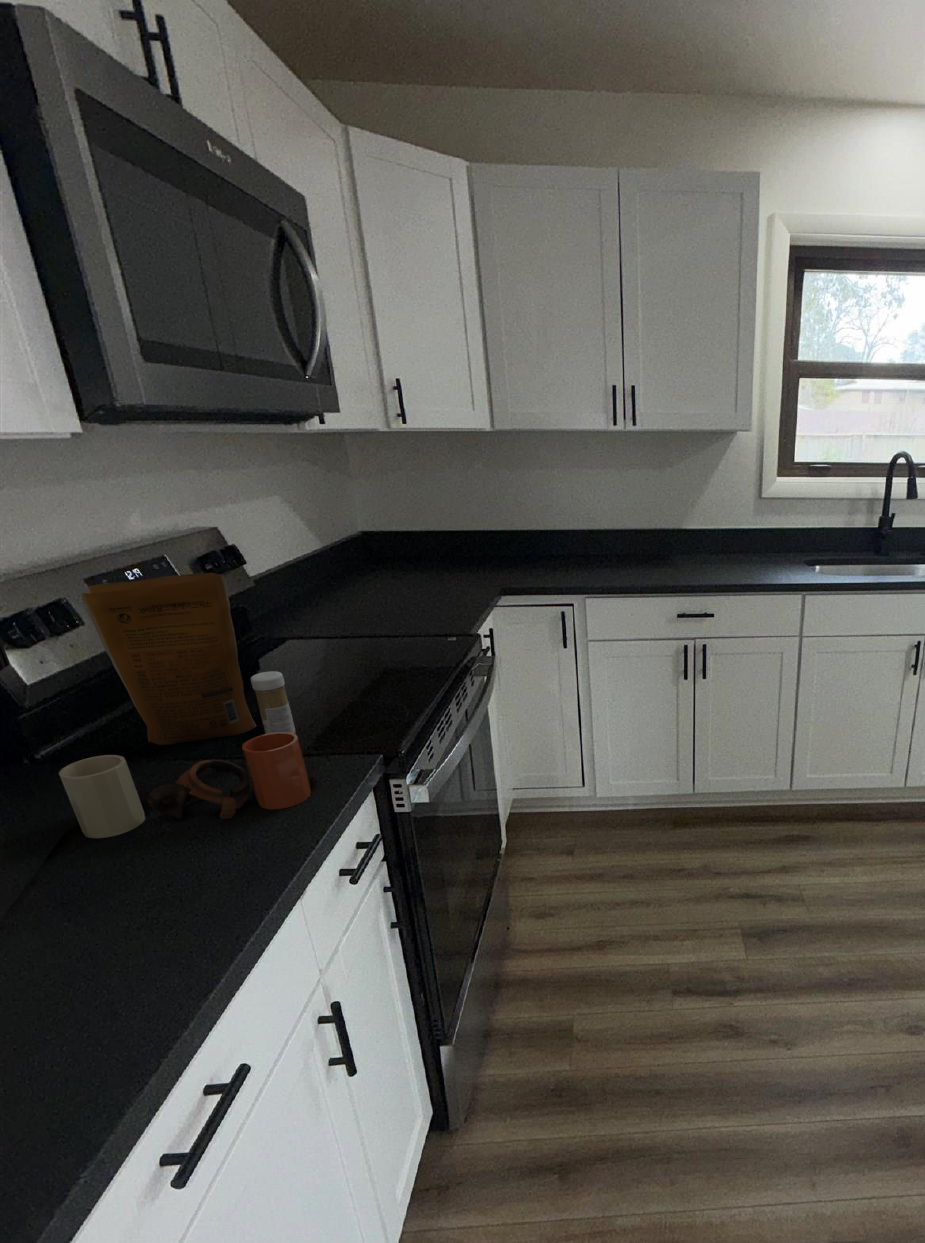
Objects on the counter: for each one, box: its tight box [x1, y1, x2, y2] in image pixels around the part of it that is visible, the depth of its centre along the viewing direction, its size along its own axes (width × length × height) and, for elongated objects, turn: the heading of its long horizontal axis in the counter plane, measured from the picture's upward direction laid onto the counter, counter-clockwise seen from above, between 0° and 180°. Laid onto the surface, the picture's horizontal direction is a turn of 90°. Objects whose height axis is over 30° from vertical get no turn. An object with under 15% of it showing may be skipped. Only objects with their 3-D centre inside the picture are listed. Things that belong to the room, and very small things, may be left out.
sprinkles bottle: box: [250, 670, 297, 735], centre depth 119 cm, size 5×5×14 cm
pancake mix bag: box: [80, 572, 257, 746], centre depth 121 cm, size 7×19×28 cm, turn 113°
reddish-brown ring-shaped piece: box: [147, 758, 251, 820], centre depth 101 cm, size 12×10×8 cm
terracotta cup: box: [241, 732, 312, 810], centre depth 105 cm, size 7×7×9 cm
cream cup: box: [58, 754, 146, 839], centre depth 98 cm, size 7×7×9 cm
